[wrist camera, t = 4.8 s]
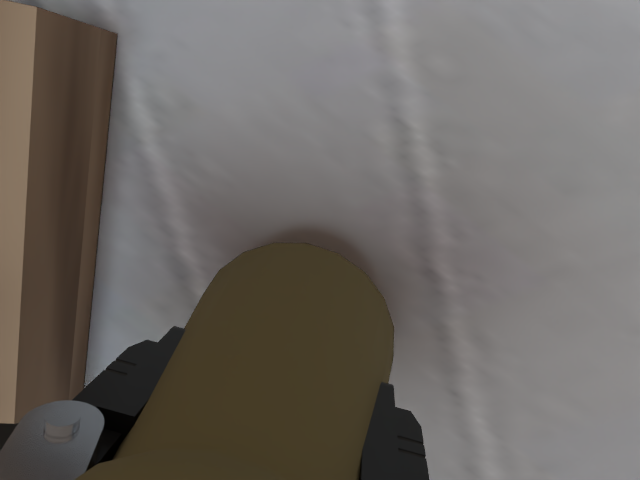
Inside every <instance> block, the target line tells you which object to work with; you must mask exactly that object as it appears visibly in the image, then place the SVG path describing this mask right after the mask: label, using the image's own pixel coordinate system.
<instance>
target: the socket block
mask: <svg viewBox="0 0 640 480" xmlns="http://www.w3.org/2000/svg"><path fill="white" fill-rule="evenodd" d="M116 42H117V34H116V33H113V32H110V31H107V30H104V29H101V28H98V27H95V26H92V25H89V24H86V23H83V22H80V21H77V20H74V19H71V18H68V17H65V16H62V15H59V14H56V13H53V12H50V11H47V10H44V9H41V8H38V7H34V6H30V5H25V4H20V3H16V2H11V1H7V0H0V423H6V424H15V423H19V422H20V420H21V419H22V418H23V416H24V415H26V414H27V413H28V412H29V411H31V410H32V409H34V408H36V407H38V406H41V405H43V404H46V403H50V402H55V401H64V400H72V399H74V398H75V397H76V396H77V395H78V394H79V393H80V392H81V391H82V390H83V388H84V377H85V367H86V356H87V346H88V335H89V325H90V315H91V304H92V294H93V283H94V273H95V262H96V252H97V241H98V231H99V220H100V210H101V199H102V189H103V178H104V168H105V157H106V147H107V137H108V126H109V116H110V105H111V95H112V84H113V74H114V63H115V53H116Z"/></svg>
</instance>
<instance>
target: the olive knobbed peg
mask: <svg viewBox="0 0 640 480" xmlns="http://www.w3.org/2000/svg"><path fill="white" fill-rule="evenodd" d="M184 329H186V330H185V332H184V334H183V336H182V338H181V340H180V342H179V344H178V345H177V347H176V349H175V351H174V353H173V355H172V357H171V359H170V360H169V362H168V364H167V366H166V368H165V370H164V372H163V374H162V375H161V377H160V379H159V381H158V383H157V385H156V387H155V389H154V391H153V392H152V394H151V396H150V398H149V400H148V401H147V403H146V405H145V407H144V408H143V410H142V412H141V414H140V415H139V417H138V419H137V420H136V422H135V424H134V426H133V427H132V429H131V430H130V432H129V433H128V434H127V436H126V437H125V439H124V440H123V442H122V443H121V445H120V446H119V448H118V450H117V452H116V454H115V456H114V457H113V459H112V460H111V461H107V462H103V463H99V464H97V465H95V466H94V467H92V468H91V469H89V470H88V471H86V472H85V473H83V474H82V475H80V476H79V477H77V478H76V479H74V480H359V479H360V468H361V458H362V449H363V446H364V442H365V438H366V435H367V431H368V427H369V424H370V420H371V416H372V413H373V409H374V406H375V402H376V398H377V395H378V391H379V387H380V384H381V382H384V383H388V381H389V376H390V371H391V366H392V361H393V348H394V326H393V323H392V320H391V317H390V314H389V311H388V308H387V305H386V302H385V299H384V297H383V296H382V295H381V293H380V292H379V291H378V289H377V288H376V287H375V285H374V284H373V283H372V281H371V280H370V279H369V277H368V276H367V275H366V273H365V272H363V271H362V270H361V269H359V268H358V267H356V266H355V265H354V264H352V263H351V262H349V261H348V260H346V259H345V258H344V257H342V256H341V255H339V254H338V253H335V252H332V251H329V250H326V249H323V248H320V247H316V246H313V245H310V244H307V243H272V244H269V245H266V246H262V247H259V248H256V249H253V250H250V251H247V252H243V253H242V254H241V255H239V256H238V257H237V258H235V259H234V260H233V261H231V262H230V263H229V264H227V265H226V266H224V267H223V268H222V269H220V270H219V271H218V273H217V274H216V276H215V277H214V279H213V280H212V282H211V283H210V285H209V286H208V288H207V289H206V291H205V292H204V294H203V295H202V297H201V299H200V301H199V303H198V304H197V306H196V308H195V310H194V312H193V313H192V315H191V317H190V319H189V321H188V323H187V324H186V326H185V328H184Z"/></svg>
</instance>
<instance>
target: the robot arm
mask: <svg viewBox="0 0 640 480" xmlns="http://www.w3.org/2000/svg"><path fill="white" fill-rule="evenodd" d="M185 330H186V329H183V328H179V327H176V326H174V327H173V328H171V329H170V331H169V332H168V333H167V334H166V335H165V336H164V337H163V338H162V339H161V340H160V341H159V342H158V343H157V342H153V341H149V340H145V341H143V342H140V343H138V344H135V345H133V346H130V347H128V348H127V349H126V350H125V351H124V352H123V353H122V354H121V355H120V356H119V357H118V358H116V361H113V362H112V363H111V364H110V365H109V366H108V367H107V368H106V370H104V371H103V372H101V373H100V374H99V375H98V376H97V377H96V378H95V379H94V380H93V381H92V382H91V383H90V384H89V385H87V386H86V387H85V388H84V389H83V390H82V391H81V392H80V393H79V394H78V395H77V396H76V397H75V398H74V399H72V400H64V401H55V402H50V403H46V404H43V405H41V406H38V407H36V408H34V409H32V410H31V411H29V412H28V413H27V414H26V415H24V416H23V418H22V419H21V420H20V422H19V423H15V424H6V423H0V480H74V479H76V478H77V477H79V476H80V475H82V474H83V473H85V472H86V471H88V470H89V469H91V468H92V467H94V466H95V465H97V464H99V463H103V462H107V461H111V460H112V459H113V457H114V456H115V454H116V452H117V450H118V448H119V446H120V445H121V443H122V442H123V440H124V439H125V437H126V436H127V434H128V433H129V432H130V430H131V429H132V427H133V426H134V424H135V422H136V420H137V419H138V417H139V415H140V414H141V412H142V410H143V408H144V407H145V405H146V403H147V401H148V400H149V398H150V396H151V394H152V392H153V391H154V389H155V387H156V385H157V383H158V381H159V379H160V377H161V375H162V374H163V372H164V370H165V368H166V366H167V364H168V362H169V360H170V359H171V357H172V355H173V353H174V351H175V349H176V347H177V345H178V344H179V342H180V340H181V338H182V336H183V334H184V332H185ZM423 443H424V442H423V436H422V429H421V426H420V424H419V423H418V422H417V420H416V419H415V417H414V416H413V414H412V413H411V411H408V410H404V409H401V408H397V407H395V400H394V387H393V385H391V384H388V383H384V382H381V384H380V387H379V391H378V395H377V398H376V402H375V406H374V409H373V413H372V416H371V420H370V424H369V427H368V431H367V435H366V438H365V442H364V446H363V449H362V458H361V468H360V479H359V480H429V474H428V468H427V461H426V459H425V456H426V455H425V449H424V445H423Z"/></svg>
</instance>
